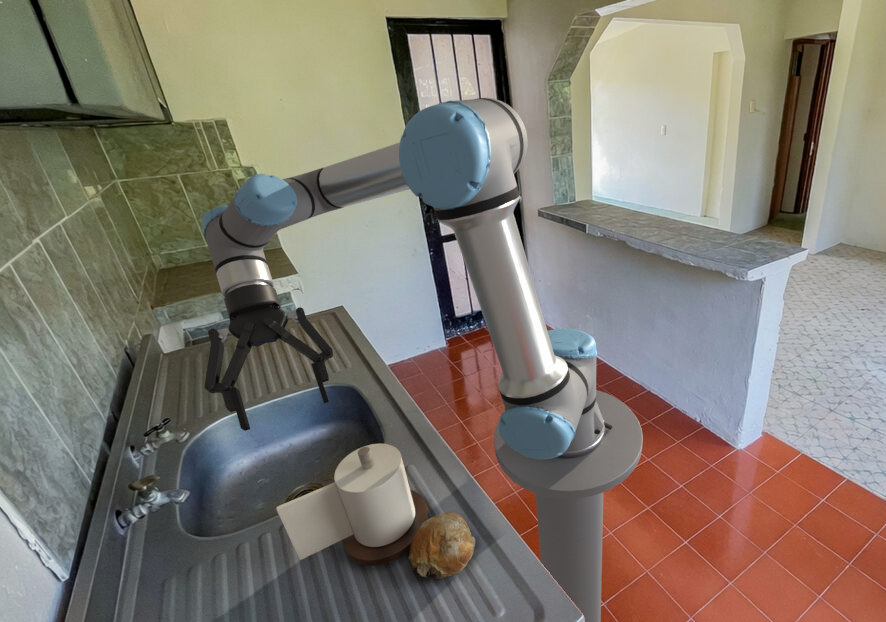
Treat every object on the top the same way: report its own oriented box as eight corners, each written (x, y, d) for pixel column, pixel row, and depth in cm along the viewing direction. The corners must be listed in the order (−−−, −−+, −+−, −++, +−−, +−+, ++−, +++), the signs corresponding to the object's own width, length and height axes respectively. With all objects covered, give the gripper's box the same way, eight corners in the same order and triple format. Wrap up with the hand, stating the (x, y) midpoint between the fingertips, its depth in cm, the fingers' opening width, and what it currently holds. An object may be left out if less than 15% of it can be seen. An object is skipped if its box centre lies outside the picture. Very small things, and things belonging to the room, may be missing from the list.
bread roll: (478, 578, 73) (493, 536, 71) (419, 599, 66) (433, 553, 64) (451, 535, 80) (464, 496, 78) (395, 549, 73) (407, 507, 71)
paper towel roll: (415, 489, 82) (401, 437, 77) (415, 537, 74) (401, 482, 68) (310, 514, 78) (288, 461, 73) (298, 568, 70) (272, 513, 64)
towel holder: (427, 485, 85) (410, 412, 77) (430, 551, 73) (411, 473, 65) (348, 504, 82) (322, 430, 74) (337, 577, 70) (305, 498, 62)
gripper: (325, 284, 85) (363, 392, 81) (173, 320, 74) (206, 447, 70) (322, 266, 79) (363, 383, 74) (155, 302, 68) (191, 441, 63)
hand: (287, 414), depth 72 cm, fingers open, 11 cm apart
